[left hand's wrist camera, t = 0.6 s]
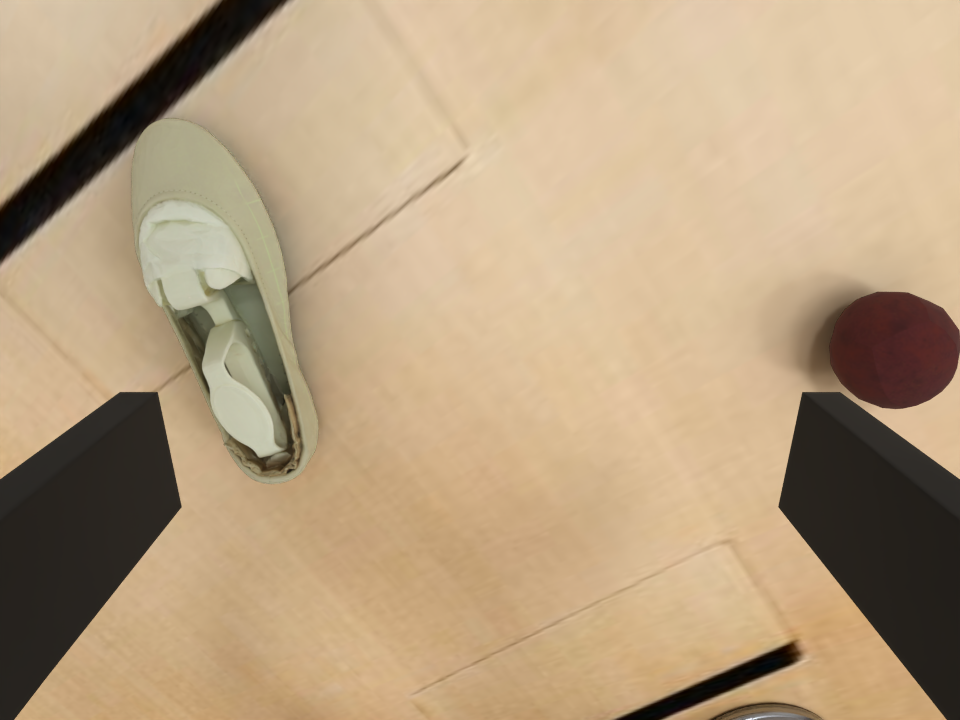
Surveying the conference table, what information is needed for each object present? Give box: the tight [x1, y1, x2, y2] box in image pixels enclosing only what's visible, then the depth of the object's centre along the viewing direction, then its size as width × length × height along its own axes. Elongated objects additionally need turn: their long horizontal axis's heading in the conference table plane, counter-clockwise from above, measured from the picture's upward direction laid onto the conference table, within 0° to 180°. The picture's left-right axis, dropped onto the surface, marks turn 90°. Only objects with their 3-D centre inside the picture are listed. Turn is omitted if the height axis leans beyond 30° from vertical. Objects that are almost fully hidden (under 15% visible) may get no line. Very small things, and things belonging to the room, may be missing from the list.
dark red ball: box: [829, 292, 960, 409], centre depth 40 cm, size 7×8×7 cm
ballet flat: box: [131, 118, 319, 484], centre depth 39 cm, size 8×25×8 cm, turn 14°
